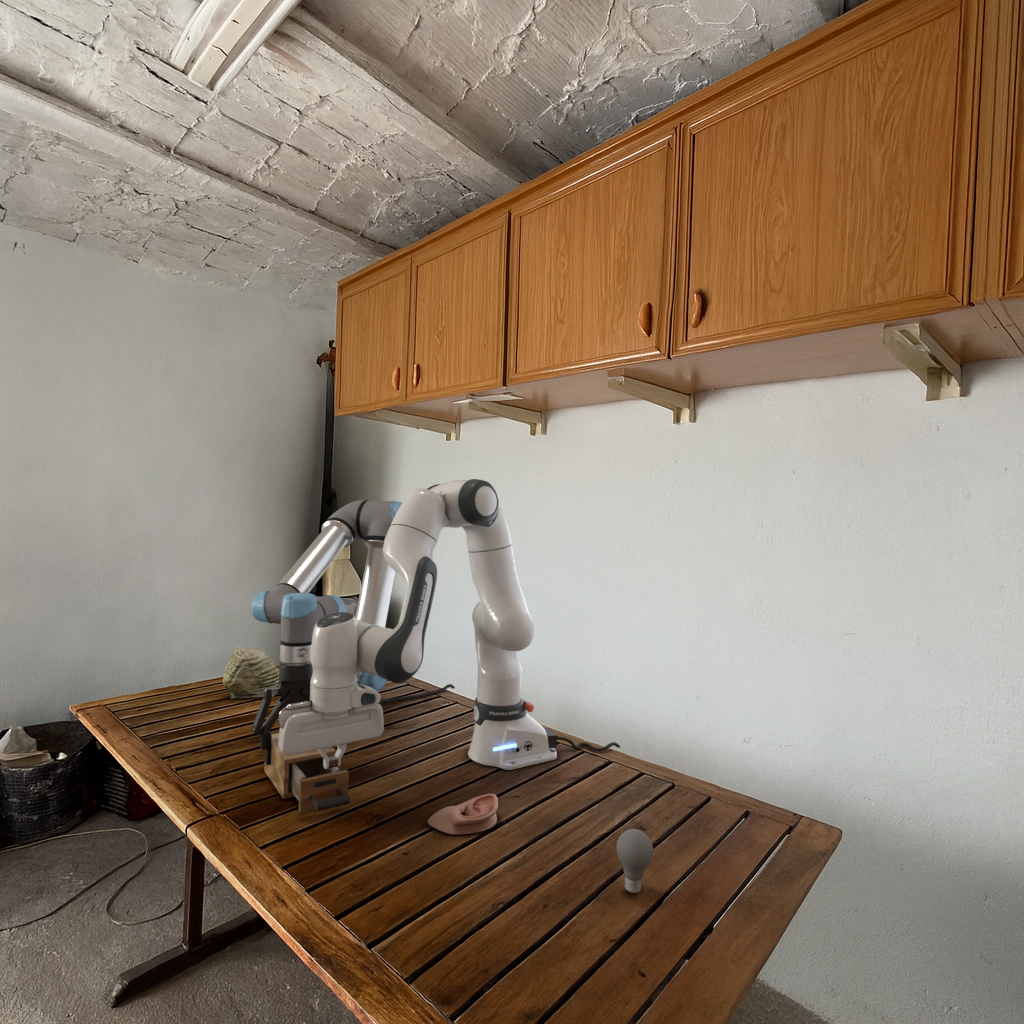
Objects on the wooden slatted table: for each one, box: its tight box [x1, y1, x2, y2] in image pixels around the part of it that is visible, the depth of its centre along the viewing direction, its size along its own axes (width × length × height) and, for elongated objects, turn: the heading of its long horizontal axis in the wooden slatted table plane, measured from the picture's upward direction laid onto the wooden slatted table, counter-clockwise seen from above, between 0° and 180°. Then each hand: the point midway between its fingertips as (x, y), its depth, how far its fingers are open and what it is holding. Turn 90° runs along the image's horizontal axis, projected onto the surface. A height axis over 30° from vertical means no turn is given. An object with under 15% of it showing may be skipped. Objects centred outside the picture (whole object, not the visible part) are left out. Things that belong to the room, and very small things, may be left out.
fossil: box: [222, 646, 279, 699], centre depth 198 cm, size 9×18×15 cm, turn 132°
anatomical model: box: [427, 793, 499, 836], centre depth 126 cm, size 13×4×12 cm
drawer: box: [289, 757, 351, 814], centre depth 130 cm, size 20×10×6 cm, turn 35°
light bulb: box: [615, 828, 654, 894], centre depth 106 cm, size 6×6×10 cm
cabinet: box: [263, 732, 336, 800], centre depth 141 cm, size 16×11×8 cm, turn 35°
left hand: (293, 757), depth 145 cm, fingers closed on cabinet, 11 cm apart
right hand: (331, 766), depth 124 cm, fingers closed
